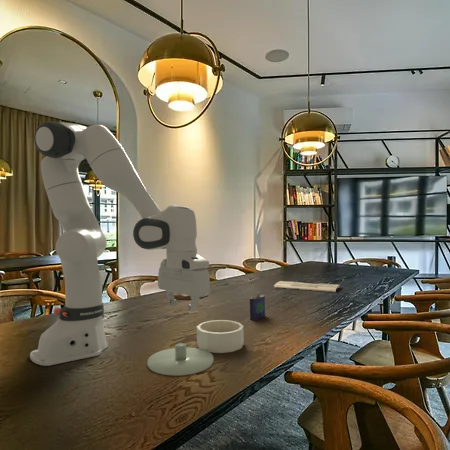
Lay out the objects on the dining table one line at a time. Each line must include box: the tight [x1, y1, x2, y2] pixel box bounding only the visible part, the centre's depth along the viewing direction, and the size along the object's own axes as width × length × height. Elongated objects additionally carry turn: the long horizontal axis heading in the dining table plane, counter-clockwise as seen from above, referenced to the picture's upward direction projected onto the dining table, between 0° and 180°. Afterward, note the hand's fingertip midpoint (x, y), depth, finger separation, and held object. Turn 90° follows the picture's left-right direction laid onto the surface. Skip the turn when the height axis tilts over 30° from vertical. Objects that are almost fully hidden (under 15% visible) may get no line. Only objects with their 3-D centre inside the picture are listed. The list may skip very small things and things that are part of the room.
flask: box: [249, 292, 266, 321], centre depth 150 cm, size 9×3×11 cm, turn 138°
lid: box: [146, 342, 214, 377], centre depth 103 cm, size 19×19×5 cm
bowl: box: [196, 319, 245, 354], centre depth 117 cm, size 15×15×6 cm
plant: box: [173, 292, 209, 301], centre depth 196 cm, size 20×20×11 cm
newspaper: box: [273, 280, 341, 293], centre depth 218 cm, size 37×19×3 cm, turn 65°
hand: (182, 308), depth 103 cm, fingers open, 8 cm apart
